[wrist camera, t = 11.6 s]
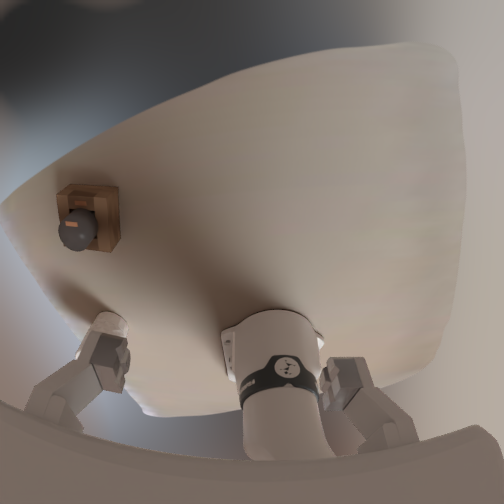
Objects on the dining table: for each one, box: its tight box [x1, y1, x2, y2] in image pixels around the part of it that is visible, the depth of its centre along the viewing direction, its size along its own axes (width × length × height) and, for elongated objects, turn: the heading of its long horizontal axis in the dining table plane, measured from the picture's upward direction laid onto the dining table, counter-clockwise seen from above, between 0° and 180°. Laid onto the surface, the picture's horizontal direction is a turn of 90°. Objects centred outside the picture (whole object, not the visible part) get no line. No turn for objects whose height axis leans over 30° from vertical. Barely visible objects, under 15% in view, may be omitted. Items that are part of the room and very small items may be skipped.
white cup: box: [75, 311, 129, 360], centre depth 46 cm, size 8×8×10 cm
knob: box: [58, 208, 98, 251], centre depth 35 cm, size 5×5×6 cm
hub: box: [56, 184, 121, 253], centre depth 37 cm, size 8×8×4 cm
